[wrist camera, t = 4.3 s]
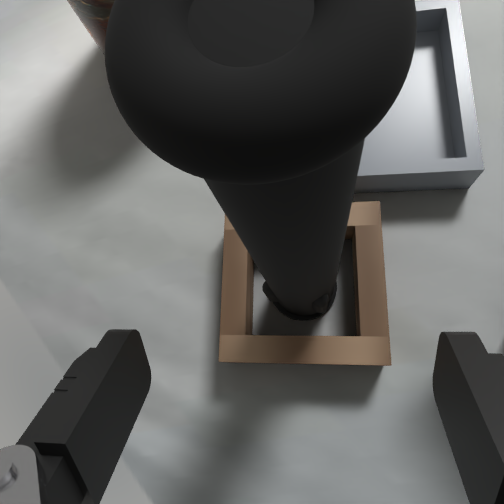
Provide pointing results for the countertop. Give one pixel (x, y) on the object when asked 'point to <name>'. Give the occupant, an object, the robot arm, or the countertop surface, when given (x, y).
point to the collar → (310, 347)
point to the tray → (428, 115)
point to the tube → (266, 115)
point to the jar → (94, 17)
